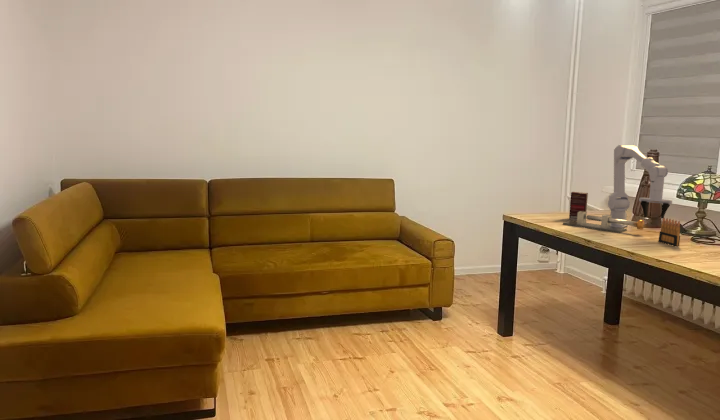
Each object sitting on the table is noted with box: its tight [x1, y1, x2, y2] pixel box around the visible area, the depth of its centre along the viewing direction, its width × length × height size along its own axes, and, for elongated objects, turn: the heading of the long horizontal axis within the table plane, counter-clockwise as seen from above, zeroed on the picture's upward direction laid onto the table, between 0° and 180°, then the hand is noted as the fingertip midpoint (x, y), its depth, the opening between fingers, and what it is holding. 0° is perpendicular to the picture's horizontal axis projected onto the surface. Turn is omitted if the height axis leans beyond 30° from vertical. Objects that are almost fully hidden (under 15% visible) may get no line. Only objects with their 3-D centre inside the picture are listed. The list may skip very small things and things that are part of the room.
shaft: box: [586, 214, 645, 231], centre depth 288 cm, size 5×28×5 cm, turn 46°
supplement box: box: [568, 191, 589, 221], centre depth 317 cm, size 9×5×16 cm, turn 58°
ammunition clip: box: [658, 217, 681, 247], centre depth 258 cm, size 11×2×12 cm, turn 15°
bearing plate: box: [562, 211, 628, 234], centre depth 295 cm, size 10×30×8 cm, turn 46°
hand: (653, 217), depth 274 cm, fingers open, 7 cm apart
